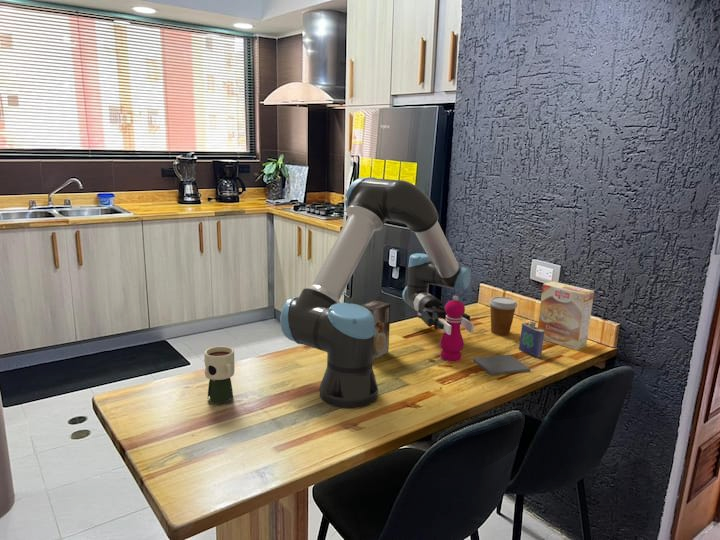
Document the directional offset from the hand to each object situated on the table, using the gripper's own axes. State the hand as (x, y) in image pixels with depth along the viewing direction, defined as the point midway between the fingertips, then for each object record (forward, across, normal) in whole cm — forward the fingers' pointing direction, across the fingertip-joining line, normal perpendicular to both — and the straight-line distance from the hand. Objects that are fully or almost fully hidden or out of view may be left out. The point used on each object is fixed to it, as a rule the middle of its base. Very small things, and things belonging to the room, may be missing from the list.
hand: (461, 329), depth 162 cm
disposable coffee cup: (-22, -28, -11) cm, 37 cm away
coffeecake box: (-9, -44, -11) cm, 46 cm away
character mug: (+7, +70, -11) cm, 71 cm away
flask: (-3, -27, -11) cm, 29 cm away
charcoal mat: (+4, -12, -11) cm, 17 cm away
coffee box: (-13, +23, -11) cm, 29 cm away
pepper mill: (-5, 0, -11) cm, 12 cm away
